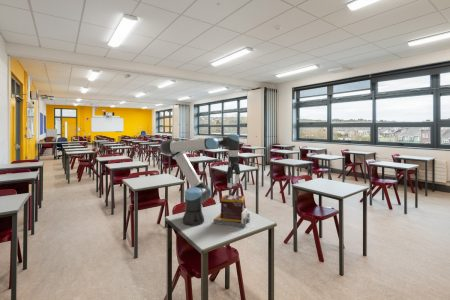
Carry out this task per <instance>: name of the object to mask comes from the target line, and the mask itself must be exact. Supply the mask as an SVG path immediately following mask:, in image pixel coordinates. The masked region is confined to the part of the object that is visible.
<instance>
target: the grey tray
mask: <svg viewBox="0 0 450 300" xmlns="http://www.w3.org/2000/svg"><path fill="white" fill-rule="evenodd" d="M247 217H248V218H250V219H247V222H246V218H244V224H242V223H241V222H233V221H223V220H221V212H220V213H218V215H217V216H215V217H214V218H213V220H212V221H213V224H220V225H224V226H231V227H236V228H237V227H238V228H242V229H243V228H244V229H245V228H246V227H247V224H248V223H250V221H251V216H250V213H248V214H247Z"/></svg>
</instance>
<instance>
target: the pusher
mask: <svg viewBox="0 0 450 300" xmlns="http://www.w3.org/2000/svg"><path fill="white" fill-rule="evenodd" d="M248 212H249V210H248V208H247V207H246V208H244V211H243V212H242V221H241V223H242V224H244V218H246V222H247V219H250V220H251V217H250V218H248V217H247V214H248Z"/></svg>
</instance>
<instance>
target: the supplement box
mask: <svg viewBox="0 0 450 300" xmlns="http://www.w3.org/2000/svg"><path fill="white" fill-rule="evenodd" d="M245 197H246V196H244V195H232V194H224V195H223V196H222V197H221V198H220V213H221V220H223V221H233V222H241V221H242V212H243V211H244V210H245Z"/></svg>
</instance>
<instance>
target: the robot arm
mask: <svg viewBox="0 0 450 300" xmlns="http://www.w3.org/2000/svg"><path fill="white" fill-rule="evenodd" d="M218 148H228V158H227V159H228V162H229V163H228V164H227V170H226V171H227V172H226V176H225V178H226V179H227V188H230V189H231V188H232V185H233V183H232V181H233V180H232V179H233V178H232V177H233V173H235V174H234V184H239V183H240V180H239V179H240V175H241V170H240V164H239V163H240V162H239V161H240V135H239V134H236V133H230V134H228V136H219V135H218V136H213V137H207V138H206V137H205V138H197V139H196V138H195V139H188V140H182V139H180V138H173V139H172V138H171V139H164V140H162V142H161V143H160V146H159V149H160V152H161V153H162V154H163V155H165V156H170V157H172V160H175V161H176V163H177V164H178V166H179V168H180V170H181V172H182V174H183V175H184V178H186V180H187V182H188V184H189V186H190V187H189V188H188V189H186V190H185V192H184V210H185V211H184V213H183V217H182V223H183V224H184V226H185V225H186V226H194V227H195V226H198V225H199V226H200V225H202V224H203V223H205V218H204V214H203V209H202V206H203V205H202V204H203V203H205V202H206V201H208V200H209V199H210V198H211V197H212V188H211V187H210V186H209V185H207V184H206V183H205V182H204V181H203V180H201V178H200V176H199V175H198V173H197V172H196V170H195V168H194V167H193V165H192V163H191V161H190V160H189V158H188V155H186V152H190V151H192V152H193V151H204V150H215V149H218Z"/></svg>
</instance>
